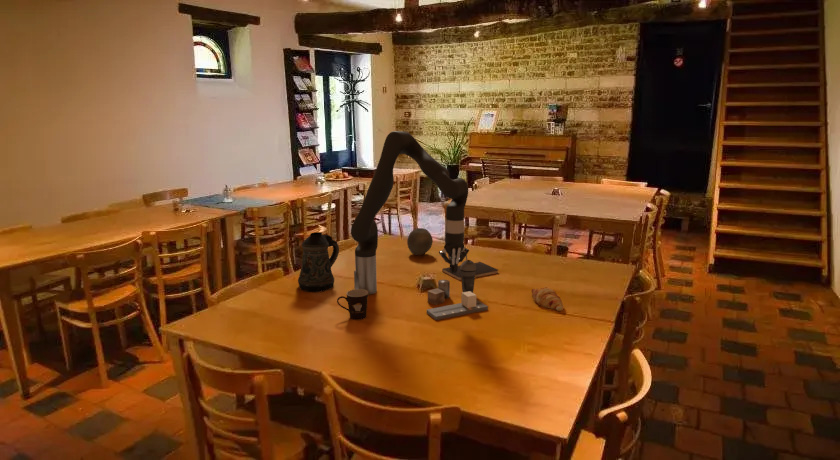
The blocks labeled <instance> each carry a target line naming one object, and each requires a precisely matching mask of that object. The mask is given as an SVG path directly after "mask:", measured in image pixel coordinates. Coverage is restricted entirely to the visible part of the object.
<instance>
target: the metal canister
mask: <svg viewBox="0 0 840 460" xmlns="http://www.w3.org/2000/svg"><path fill="white" fill-rule="evenodd" d="M450 284H451V283H450V280H448V279H440V280H438V281H437V289H439V290H442V291H444V300H446V299H449V298H450V292H451V291H450V289H451V287H450Z"/></svg>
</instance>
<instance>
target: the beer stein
mask: <svg viewBox="0 0 840 460" xmlns="http://www.w3.org/2000/svg"><path fill="white" fill-rule="evenodd" d="M329 247H332V253H331V255H329ZM301 248H302V257H301V265H300V266H301V267H300V272H299V276H298V279H297V283H298V287H299V289H300V290H301V291H302V292H306V293H317V292H319V293H321V292H325V291H329V290H331V289H332V288H334V286H335V285H334V283H335V277H334V275H333V274H334V273H333V272H332V267H333V265H334V264H335V263H336V261H337V259H338V256H339V253H340V247H339V244H338V241H336V240H334V239H333V237H332V235H331V236H330V235H328V234H323V233H322V232H318V231H316V232H311V233H310V234H309V236H307V238H306V239H305V240H303V241H302V243H301Z"/></svg>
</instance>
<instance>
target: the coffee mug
mask: <svg viewBox="0 0 840 460" xmlns="http://www.w3.org/2000/svg"><path fill="white" fill-rule="evenodd" d="M340 299H345V301H346V302H347V306H348V308H347V307H346V306H344V305H341V303H340V302H339V300H340ZM368 300H369V295H368V291H367V290H363V289H355V288H353V289H351V290H348V291H346V296H342V295H341V296H339V297H337V301H336V303H337V305H338V306H339V307H341V308H343V309H344V310H346V311H348V313H349V317H350V319H352V320H353V321H354V320H355V321H360V320H364V319H366V318H367V315H368V314H367V313H368V311H367V310H368V302H369V301H368Z"/></svg>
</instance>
